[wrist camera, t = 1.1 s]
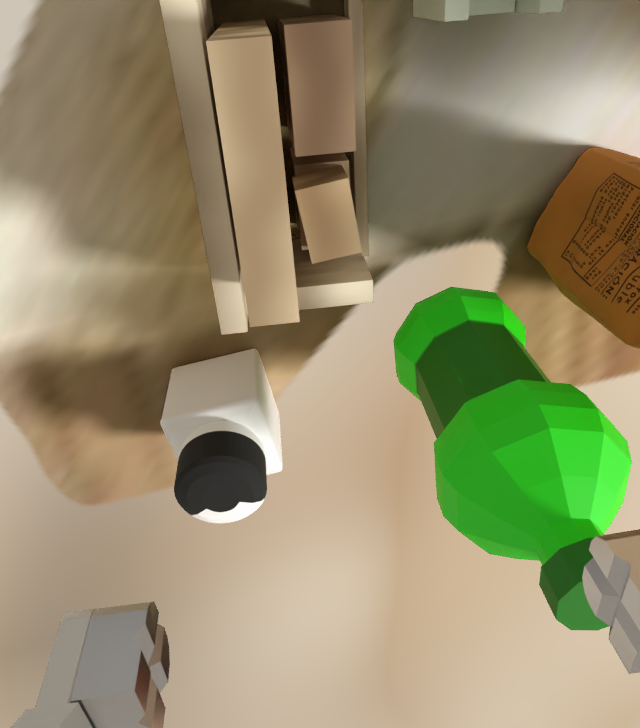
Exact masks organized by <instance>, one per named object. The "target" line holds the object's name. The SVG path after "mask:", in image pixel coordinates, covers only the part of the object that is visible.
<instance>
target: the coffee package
mask: <svg viewBox="0 0 640 728" xmlns="http://www.w3.org/2000/svg"><path fill="white" fill-rule="evenodd" d="M527 250H528V252H529V253H530V254H531V255H532V256H533V257H534V258H535V259H537V260H538V261H539V262H540V263H541V264H542V266H543V267H544V269H545V270H546V271H547V273H548V274H549V275H550V277H551V278H552V280H553V282H554V283H555V285H556V286H557V287H558V289H559V290H560V291H561V292H562V294H563V295H564V296H566V297H567V298H568V299H569V300H570V301H572V302H573V303H574V304H575V305H577V306H578V307H579V308H581V309H582V310H584V311H585V312H586V313H588V314H589V315H590V316H592V317H593V318H594V319H596V320H597V321H598V322H599V323H600V324H602V325H603V326H604V327H605V328H607V329H608V330H609V331H610V332H612V333H613V334H614V335H615V336H617V337H618V338H619V339H621V340H622V341H623V342H624V343H626V344H628V345H630V346H633V347H635V348H639V349H640V158H637V157H634V156H631V155H628V154H624V153H621V152H617V151H614V150H609V149H603V148H598V147H593V148H589V149H588V150H586V151H585V152H584V153H583V154H582V155H581V156H580V157H579V158H578V160H577V161H576V163H575V165H574V166H573V168H572V169H571V171H570V172H569V173H568V175H567V176H566V177H565V178H564V180H563V181H562V183H561V184H560V185H559V187H558V188H557V189H556V191H555V193H554V195H553V196H552V198H551V199H550V201H549V203H548V205H547V207H546V209H545V210H544V212H543V213H542V214H541V216H540V218H539V219H538V221H537V223H536V225H535V227H534V230H533V233H532V236H531V238H530V240H529V243H528V245H527Z"/></svg>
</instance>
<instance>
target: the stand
mask: <svg viewBox="0 0 640 728" xmlns="http://www.w3.org/2000/svg"><path fill="white" fill-rule="evenodd" d="M563 4H564V0H413V17H417V18H424V19H430V20H436V21H443V22H449V21H460V20H468V18H469V16H475V15H487V14H499V13H510V12H522V13H535V14H543V13H554V12H562V11H563Z"/></svg>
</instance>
